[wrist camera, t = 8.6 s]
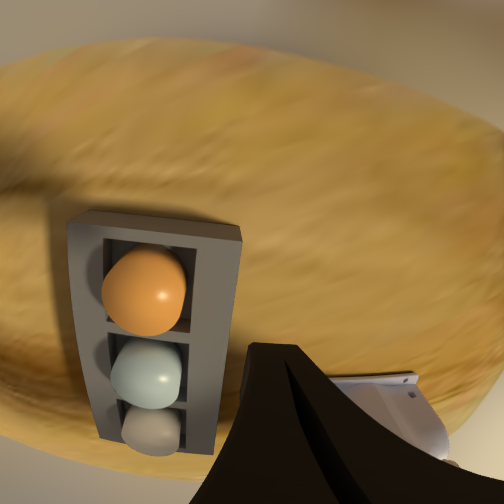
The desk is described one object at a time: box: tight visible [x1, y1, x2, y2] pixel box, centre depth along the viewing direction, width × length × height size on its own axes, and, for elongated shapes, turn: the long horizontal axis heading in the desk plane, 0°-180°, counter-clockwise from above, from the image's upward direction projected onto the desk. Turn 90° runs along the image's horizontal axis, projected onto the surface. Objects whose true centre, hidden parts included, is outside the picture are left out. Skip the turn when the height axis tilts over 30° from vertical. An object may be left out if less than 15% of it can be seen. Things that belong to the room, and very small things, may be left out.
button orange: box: [102, 243, 188, 336], centre depth 15 cm, size 4×4×3 cm
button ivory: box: [121, 403, 182, 456], centre depth 18 cm, size 4×4×3 cm
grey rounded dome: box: [110, 336, 183, 409], centre depth 17 cm, size 4×4×3 cm
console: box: [67, 210, 243, 455], centre depth 18 cm, size 9×17×3 cm, turn 171°
